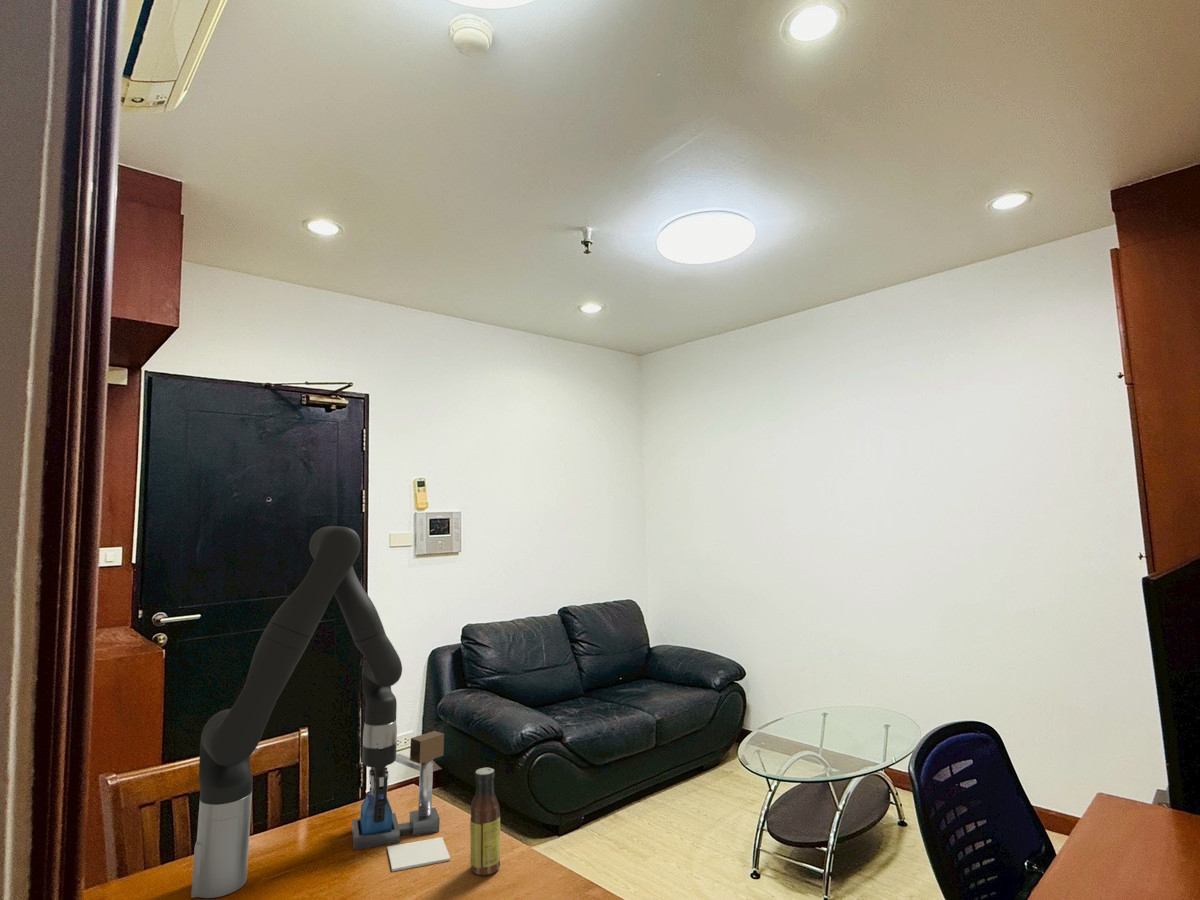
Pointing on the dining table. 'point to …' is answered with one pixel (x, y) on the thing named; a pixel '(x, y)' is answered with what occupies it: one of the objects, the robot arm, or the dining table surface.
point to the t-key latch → (424, 765)
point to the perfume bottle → (368, 816)
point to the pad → (417, 854)
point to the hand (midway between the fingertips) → (377, 813)
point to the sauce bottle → (485, 825)
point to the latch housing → (396, 830)
